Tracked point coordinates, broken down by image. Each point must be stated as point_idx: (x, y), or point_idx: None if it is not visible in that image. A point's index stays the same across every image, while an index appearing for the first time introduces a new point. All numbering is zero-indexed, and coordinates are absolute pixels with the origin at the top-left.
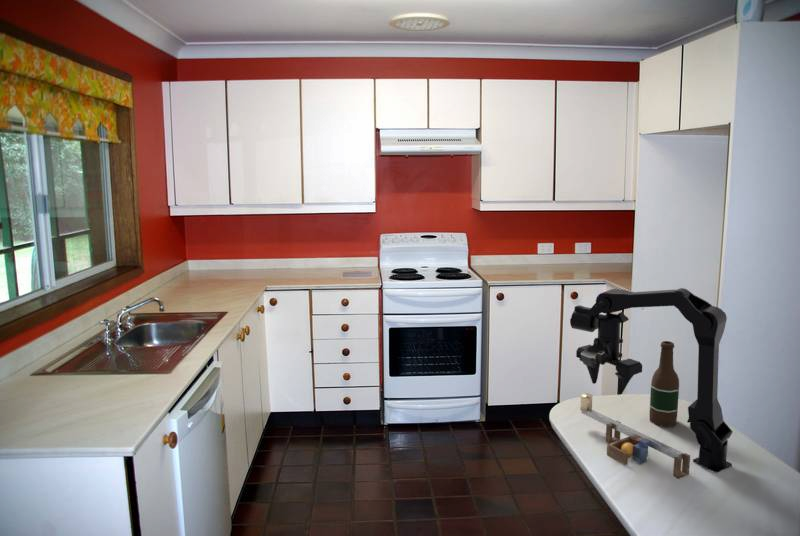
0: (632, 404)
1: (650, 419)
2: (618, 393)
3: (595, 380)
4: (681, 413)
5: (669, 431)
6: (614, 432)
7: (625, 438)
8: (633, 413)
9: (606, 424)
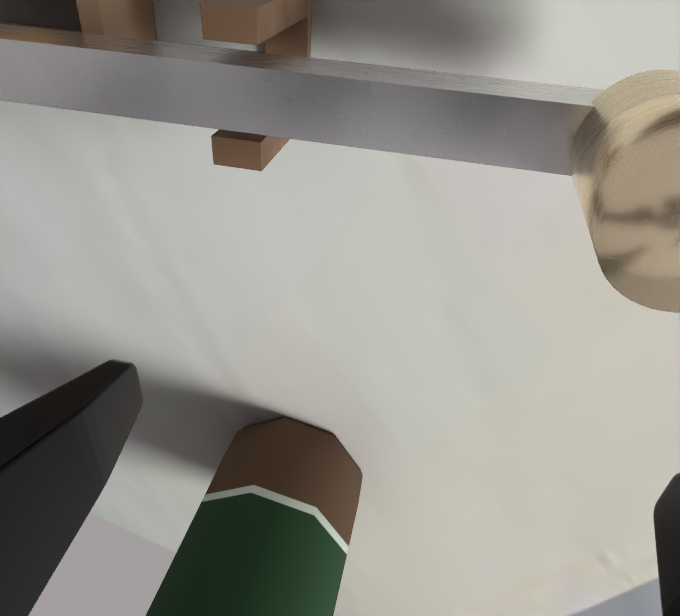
0: (519, 535)
1: (326, 440)
2: (118, 367)
3: (673, 548)
4: None
5: (204, 396)
6: None
7: (93, 18)
8: (451, 460)
9: (255, 6)
